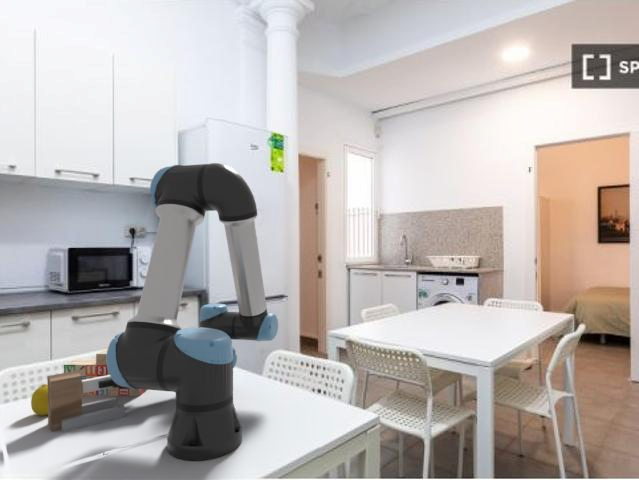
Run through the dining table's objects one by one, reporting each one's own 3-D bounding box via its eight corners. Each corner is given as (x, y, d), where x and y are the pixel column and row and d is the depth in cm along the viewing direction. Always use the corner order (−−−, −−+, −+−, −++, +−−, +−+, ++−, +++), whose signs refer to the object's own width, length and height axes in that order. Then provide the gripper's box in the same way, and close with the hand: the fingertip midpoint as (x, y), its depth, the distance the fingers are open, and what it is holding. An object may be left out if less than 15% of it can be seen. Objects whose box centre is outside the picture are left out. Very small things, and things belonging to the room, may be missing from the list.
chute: (125, 419, 104) (125, 407, 104) (62, 435, 96) (62, 422, 96) (115, 408, 111) (115, 396, 111) (55, 422, 103) (55, 410, 103)
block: (82, 423, 100) (81, 375, 100) (51, 431, 96) (50, 381, 96) (77, 417, 104) (76, 370, 104) (48, 424, 100) (47, 376, 100)
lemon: (45, 422, 103) (45, 388, 103) (25, 421, 104) (25, 387, 104) (63, 413, 108) (63, 381, 108) (44, 411, 109) (44, 379, 109)
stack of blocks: (63, 398, 119) (62, 353, 119) (77, 390, 125) (77, 347, 125) (140, 399, 117) (139, 353, 117) (150, 391, 124) (150, 347, 124)
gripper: (190, 387, 112) (88, 411, 97) (171, 375, 122) (76, 395, 107) (190, 357, 112) (88, 377, 97) (171, 348, 122) (76, 364, 107)
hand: (82, 386), depth 102 cm, fingers closed
